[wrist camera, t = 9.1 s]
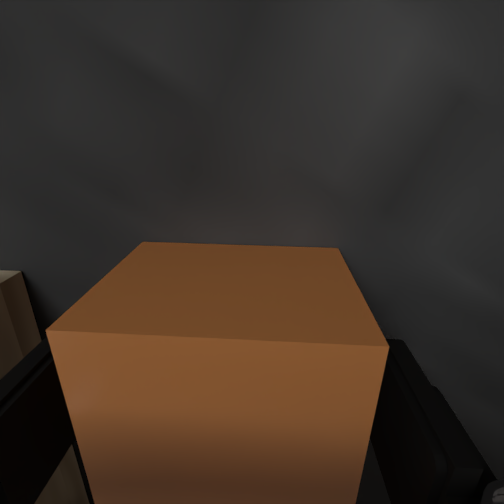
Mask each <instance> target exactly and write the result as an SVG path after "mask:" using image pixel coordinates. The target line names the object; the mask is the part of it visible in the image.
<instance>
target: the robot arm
mask: <svg viewBox="0 0 504 504" xmlns="http://www.w3.org/2000/svg"><path fill="white" fill-rule="evenodd" d="M386 341H387V343H388V345H389V351H388V355H387V360H386V364H385V369H384V374H383V378H382V383H381V388H380V392H379V397H378V401H377V406H376V411H375V415H374V420H373V425H372V429H371V434H370V439H371V442H372V445H373V448H374V451H375V454H376V457H377V460H378V464H379V467H380V470H381V473H382V476H383V479H384V482H385V485H386V488H387V492H388V495H389V498H390V501H391V504H504V480H497V479H496V478H495V476H494V475H493V473H492V471H491V470H490V468H489V467H488V465H487V464H486V462H485V461H484V459H483V457H482V456H481V454H480V453H479V451H478V450H477V448H476V447H475V445H474V443H473V442H472V440H471V439H470V437H469V436H468V434H467V433H466V431H465V429H464V428H463V426H462V425H461V423H460V422H459V420H458V419H457V417H456V415H455V414H454V412H453V411H452V409H451V408H450V406H449V405H448V403H447V401H446V400H445V398H444V397H443V395H442V394H441V392H440V391H439V390H438V389H437V388H436V387H435V386H431V384H430V382H429V381H428V379H427V378H426V376H425V374H424V373H423V371H422V370H421V368H420V366H419V365H418V363H417V362H416V360H415V358H414V357H413V355H412V354H411V352H410V350H409V349H408V347H407V346H406V344H405V342H404V341H403V340H395V339H386ZM75 438H76V436H75V432H74V429H73V425H72V422H71V418H70V415H69V411H68V408H67V404H66V401H65V397H64V394H63V390H62V387H61V383H60V380H59V376H58V373H57V369H56V365H55V362H54V358H53V355H52V351H51V348H50V344H49V341H48V337H46V338H44V339H43V340H42V341H41V342H40V343H39V344H38V345H37V346H36V347H35V348H34V349H33V350H32V351H30V352H29V353H28V354H27V355H26V356H25V357H24V358H23V359H22V360H21V361H20V362H19V363H18V364H17V365H15V366H14V367H13V368H12V369H11V370H10V371H9V372H8V373H7V374H6V375H5V376H4V377H3V378H2V379H0V504H35V502H36V500H37V499H38V497H39V496H40V494H41V492H42V491H43V489H44V488H45V486H46V485H47V483H48V481H49V480H50V478H51V477H52V475H53V473H54V472H55V470H56V469H57V467H58V465H59V464H60V462H61V461H62V459H63V457H64V456H65V454H66V453H67V451H68V449H69V448H70V446H71V445H72V443H73V441H74V440H75Z"/></svg>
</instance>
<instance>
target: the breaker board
mask: <svg viewBox="0 0 504 504" xmlns="http://www.w3.org/2000/svg"><path fill="white" fill-rule="evenodd" d="M40 342H41V337H40V334H39V330H38V327H37V324H36V320H35V317H34V313H33V310H32V307H31V303H30V300H29V296H28V293H27V290H26V286H25V283H24V279H23V276H22V273H21V271H4V270H0V379H2V378H3V377H4V376H5V375H6V374H7V373H8V372H9V371H10V370H11V369H12V368H13V367H14V366H15V365H17V364H18V363H19V362H20V361H21V360H22V359H23V358H24V357H25V356H26V355H27V354H28V353H29V352H30V351H32V350H33V349H34V348H35V347H36V346H37V345H38V344H39V343H40ZM35 504H89V500H88V497H87V494H86V490H85V487H84V483H83V480H82V477H81V473H80V470H79V466H78V463H77V460H76V456H75V453H74V449H73V446H72V445H71V446H70V448H69V449H68V451H67V453H66V454H65V456H64V457H63V459H62V461H61V462H60V464H59V465H58V467H57V469H56V470H55V472H54V473H53V475H52V477H51V478H50V480H49V481H48V483H47V485H46V486H45V488H44V489H43V491H42V492H41V494H40V496H39V497H38V499H37V500H36V502H35Z"/></svg>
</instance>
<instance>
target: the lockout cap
mask: <svg viewBox="0 0 504 504" xmlns="http://www.w3.org/2000/svg"><path fill="white" fill-rule="evenodd" d="M46 334H47V337H48V341H49V344H50V348H51V351H52V355H53V358H54V362H55V365H56V369H57V373H58V376H59V380H60V383H61V387H62V390H63V394H64V397H65V401H66V404H67V408H68V411H69V415H70V418H71V422H72V425H73V429H74V432H75V436H76V439H77V443H78V446H79V450H80V454H81V457H82V461H83V464H84V468H85V471H86V475H87V478H88V482H89V485H90V489H91V492H92V496H93V499H94V503H95V504H355V503H356V499H357V494H358V489H359V485H360V480H361V476H362V471H363V466H364V462H365V457H366V452H367V448H368V443H369V439H370V434H371V429H372V425H373V420H374V415H375V411H376V406H377V401H378V397H379V392H380V388H381V383H382V378H383V374H384V369H385V364H386V360H387V355H388V351H389V345H388V343H387V341H386V339H385V337H384V336H383V334H382V332H381V330H380V328H379V326H378V324H377V322H376V320H375V318H374V316H373V314H372V313H371V311H370V309H369V307H368V305H367V303H366V301H365V299H364V297H363V295H362V293H361V291H360V290H359V288H358V286H357V284H356V282H355V280H354V278H353V276H352V274H351V272H350V270H349V268H348V267H347V265H346V263H345V261H344V259H343V257H342V255H341V253H340V251H339V249H338V248H320V247H289V246H258V245H227V244H196V243H165V242H142V243H141V244H140V245H139V246H138V247H136V248H135V249H134V250H133V251H132V252H131V253H130V254H129V255H128V256H127V257H125V258H124V259H123V260H122V261H121V262H120V263H119V264H118V265H117V266H116V267H114V268H113V269H112V270H111V271H110V272H109V273H108V274H107V275H106V276H105V277H103V278H102V279H101V280H100V281H99V282H98V283H97V284H96V285H95V286H94V287H92V288H91V289H90V290H89V291H88V292H87V293H86V294H85V295H84V296H83V297H81V298H80V299H79V300H78V301H77V302H76V303H75V304H74V305H73V306H72V307H70V308H69V309H68V310H67V311H66V312H65V313H64V314H63V315H62V316H61V317H59V318H58V319H57V320H56V321H55V322H54V323H53V324H52V325H51V326H50V327H48V328H47V329H46Z"/></svg>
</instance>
